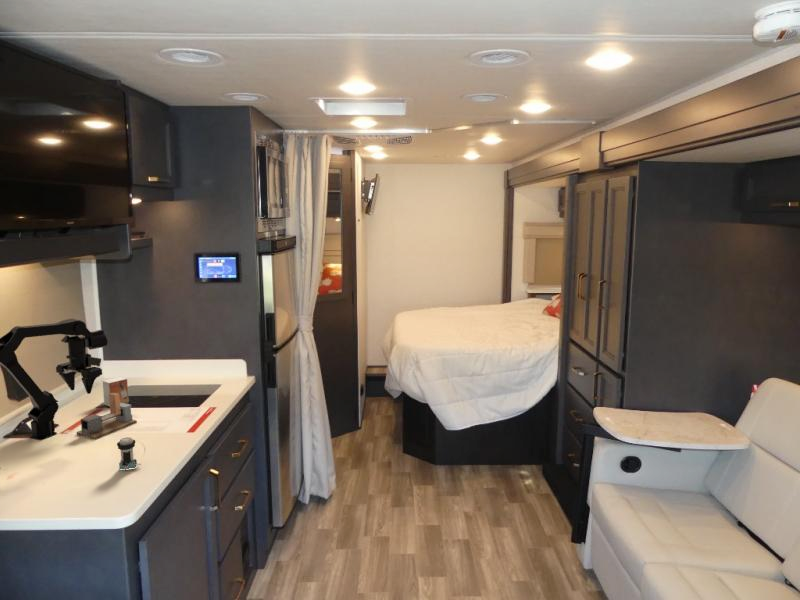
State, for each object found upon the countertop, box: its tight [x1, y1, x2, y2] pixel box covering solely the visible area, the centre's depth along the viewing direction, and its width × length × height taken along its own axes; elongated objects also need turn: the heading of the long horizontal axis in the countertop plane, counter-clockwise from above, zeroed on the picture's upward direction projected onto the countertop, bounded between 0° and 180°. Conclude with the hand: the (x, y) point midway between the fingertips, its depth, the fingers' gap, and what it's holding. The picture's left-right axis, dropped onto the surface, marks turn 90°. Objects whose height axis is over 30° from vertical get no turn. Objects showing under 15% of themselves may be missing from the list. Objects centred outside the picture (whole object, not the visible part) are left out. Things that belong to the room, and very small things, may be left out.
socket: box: [116, 403, 134, 422], centre depth 227 cm, size 3×6×6 cm, turn 65°
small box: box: [102, 376, 129, 407], centre depth 248 cm, size 8×6×10 cm
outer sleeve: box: [80, 414, 103, 435], centre depth 215 cm, size 6×4×6 cm
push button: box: [116, 436, 142, 471], centre depth 187 cm, size 7×5×10 cm
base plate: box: [76, 417, 138, 440], centre depth 221 cm, size 18×10×1 cm, turn 154°
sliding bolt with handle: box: [101, 393, 123, 422], centre depth 221 cm, size 14×3×9 cm, turn 154°
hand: (80, 391), depth 223 cm, fingers open, 9 cm apart
